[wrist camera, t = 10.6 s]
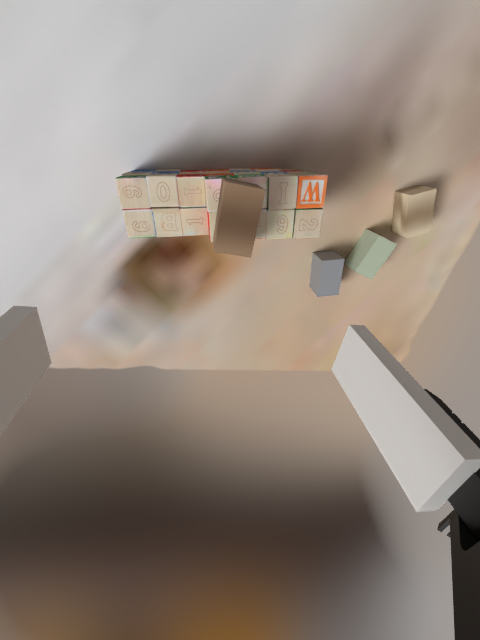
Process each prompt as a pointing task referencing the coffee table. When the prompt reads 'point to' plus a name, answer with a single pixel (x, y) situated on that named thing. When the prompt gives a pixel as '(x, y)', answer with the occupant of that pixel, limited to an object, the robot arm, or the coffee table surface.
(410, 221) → the maple brick
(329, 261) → the grey brick
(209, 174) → the stack of blocks
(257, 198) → the walnut brick
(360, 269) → the sage brick
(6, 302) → the coffee table surface
